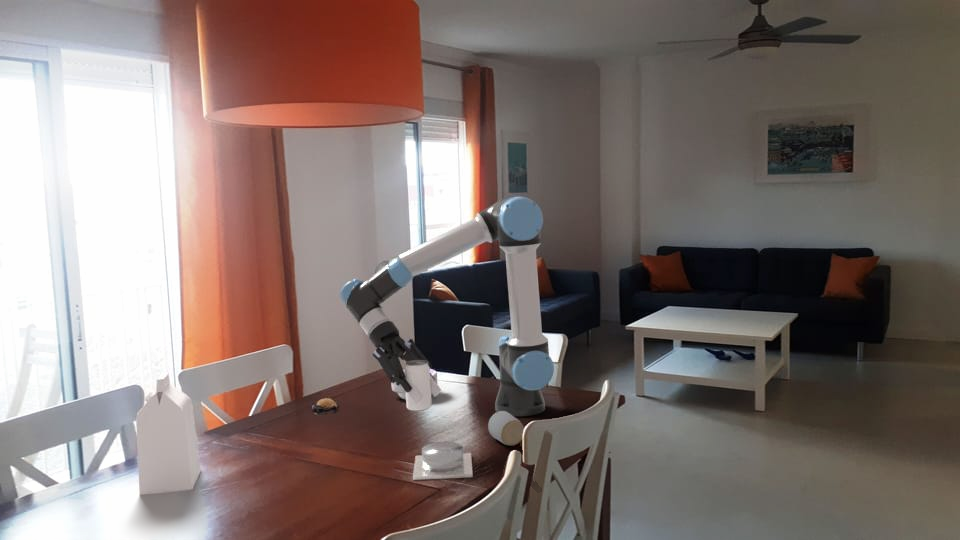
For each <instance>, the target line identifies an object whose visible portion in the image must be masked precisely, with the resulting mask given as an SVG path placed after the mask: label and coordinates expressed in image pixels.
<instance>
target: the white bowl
mask: <svg viewBox="0 0 960 540" xmlns="http://www.w3.org/2000/svg"><path fill="white" fill-rule="evenodd" d="M403 371H404V374H405V369H403ZM430 373H431V375H432V376H433V377H434V379H435V382H436V383H437V385H438V373H437V371H436V370H435V369H432V368H430ZM393 377H394V376H393ZM390 383H391V382H390ZM390 385H391V390H392V392H395V393H397V395H398V396H399V398H401V399H402V400H406V391H405V390H404V389H403V387H402V386H401V384H400V385H396V382H395V383H391V384H390Z"/></svg>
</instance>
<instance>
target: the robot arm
mask: <svg viewBox="0 0 960 540" xmlns="http://www.w3.org/2000/svg"><path fill="white" fill-rule="evenodd" d="M543 224H544V216H543V212H542V210H541V208H540V206H539V205H538V204H537V203H536V202H535V201H534V200H532V199H531V198H528V197H525V196H521V195H520V196H506V197H504V198H502V199H499V200H498V201H496V202H494V203H493V204H492V205H490V206H488V207H487V208H485V209H483V210H481V211H479V212H477V213H476V214H475V218H473V219H471V220H468V221H467V222H464V223H462V224H460V225H459V226H456V227H454V228H452V229H450V230H448V231H446V232H443V233H442V234H439V235H437V236H435V237H433V238H431V239H429V240H428V241H426V242H423V243H421V244H419V245H416V246H414V247H412V248H410V249H409V250H407V251H405V252H402V253H401V254H398V255H396V256H394V257H392V258H390V259H388V260H383V261H381V262H379V263H378V264H377V265H376V267H375V268H374V272H373V275H371V277H369V278H368V279H366V280H364V281H363V279H360V278H353V279H352V280H350V281H348V282H346V283H345V284H344V285H343V286H342V288H341V289H340V293H339V294H340V298H341V300H342V302H343V303H344V304H345V307H346V309H348V311H349V312H350V314H351V316H353V318H354V319H355V321H356V322H357V323H358V325H360V326H359V327H360V328H361V329H362V330H363V332H364V333H365V334H366V336H367V337H368V339H369V341H370V342H371V343H372V345H373V346H374V347H375V348H376V349H375V350H374V352H373V353H372V356H373V357H374V358H375V359H376V360H377V361H378V363H379V365H380V366H381V368H382V370H383V372H384V373H385V375H386V376H387V378H388V380H389V381H390V383H395V382H396V385H400V384H401V386H402V387H403V389H404V390H405V391H406V392H407V393H409V395H410V396H411V398H412V399H413V400H414V402H415V403H416V404H417V403H418V402H419V401H420V400H421V399H422V397H423V396H422V395H421V393H420V392H419V390H418V389H417V388H416V386H415V385H414V383H413V382H412V381H411V379H410V378H409V377H407V378H406V379H405V374H404V371H403V370H404V369H403V366H402V363H401V361H400V360H402V361H405V363H406V362H409V361H413V360H425V361H427V362H428V363H427V364H428V366H429V368H430V369H432V367H433V364H432V363H431V362H430V361H429V359H427V358H426V356H425V355H424V354H423V353H422V351H421V350H420V349H419V348H418V347H417V345H416V343H415V341H414V339H413V338H410V339H409V340H404V339H403V338H402V337H401V336H400V330H399V328H397V326H396V325H395V324H394V322H393V321H392V318H391V317H390V316H389V315H388V314H387V312H386V311H385V310H384V308H383V307H382V306H381V304H383V303H384V302H385V301H386V300H388V299H390V297H392V296H394V295H395V294H396V293H397V292H399V291H400V290H402V289H403V288H405V287H406V286H407V285H408V284H409V283H410V282H411V281H413V279H414V277H415V276H417V275H420V274H421V273H423V272H424V273H425V272H426V271H427V270H430V269H432V268H434V267H435V266H437V265H438V266H439V265H440V264H443V263H445V262H447V261H448V260H451V259H452V258H455V257H457V256H459V255H461V254H463V253H465V252H468V251H469V250H471V249H473V248H476V247H478V246H479V245H482V244H483V243H486V242H488V243H490V244H491V243H493V242H496V241H497V240H498V245H499V247H498V248H500V249H501V250H502V251H503V252H504V254H505V255H504V256H505V265H506V267H505V268H506V278H507V280H506V281H507V290H508V304H509V315H510V329H511V334H509V335H503V336H500V338H499V339H498V347H497V348H498V351H499V353H498V354H499V355H498V356H499V357H498V358H499V381H500V384H499V388H498V392H497V395H496V400H495V402H494V404H495V406H494V409H495V413H496V412H499V411H506V412H508V413H509V414H511V415H512V416H513V417H529V416H530V417H531V416H535V415H539V414H541V413H543V412H545V410H546V402H545V401H546V400H545V399H544V396H543V393H542V390H541V389H543V388H544V387H546V386H547V385H548V384H549V383H550V382H551V381H552V379H553V376H554V373H555V366H554V362H553V360H552V358H551V356H550V349H549V348H550V347H549V339H548V337H546V336H545V334H543V331H542V329H543V328H542V315H541V302H540V301H541V300H540V290H539V278H538V277H539V275H538V263H537V262H538V261H537V249H538V248H539V247H540V245H541V243H542V241H541V229H543V228H542V227H543ZM393 376H394V377H393ZM437 383H438V382H437ZM437 383H436V382H435V379H434V377H433V376H432V375H431V373H430V384H431V395H433V397H434V398H435V397H437V396H438V395H439V394H440V393H441V391H442V389H441V387H440V386H439V385H438V384H437Z"/></svg>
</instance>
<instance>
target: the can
mask: <svg viewBox="0 0 960 540" xmlns="http://www.w3.org/2000/svg"><path fill="white" fill-rule="evenodd" d="M427 363H428V362H427V361H425V360H413V361H409V362H406V361H405V366H404V367H405V368H404V370H405V379H406V378H407V377H409V378H410V379H411V381H412V382H413V383H414V385H415V386H416V388H417V389H418V390H419V392H420V393H421V395H422V396H423V397H422V399H421V400H420V401H419V402H418V403H417V404H416V403H415V402H414V400H413V399H412V398H411V396H410V395H409V393H407V392H406V399H405V402H406V408H407V410H408V411H411V412H423V411H427V410H429V409H431V408H432V393H431V384H430V369H431V368H429V366H428V364H427Z"/></svg>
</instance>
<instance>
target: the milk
mask: <svg viewBox="0 0 960 540" xmlns="http://www.w3.org/2000/svg"><path fill="white" fill-rule="evenodd" d="M143 400H144V401H145V404H144V405H142V407H141V408H140V409H139V411H137V414H136V418H135V421H136V422H135V423H136V425H135V426H136V444H137V446H136V447H137V465H138V486H139V489H138V490H139V496H143V495H151V494H152V495H153V494H161V493H162V494H163V493H170V492H171V493H173V492H179V491H180V492H181V491H190V490H194V489H193V488H194V487H195V485H196V482H197V480H198V479H199V475H200V473H201V470H202V468H201V462H200V461H201V460H200V453H199V447H198V437H197V430H196V423H195V415H194V409H193V408H194V407H193V402H192V399H191V398H190V397H189V396H188V394H186V393H185V392H183V391H182V390H180V389H179V388H177V387H176V386H175V385H173V384H172V383H170V376H169V373H168V372H165V373H161V374H160V375H159V376H158V378H157V379H156V390H155V391H154V389H152V390H150V391H149V393H148V394H147V395H146V396H145V398H144V399H143Z"/></svg>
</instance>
